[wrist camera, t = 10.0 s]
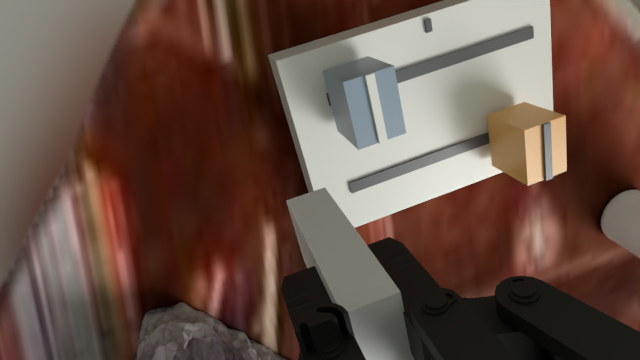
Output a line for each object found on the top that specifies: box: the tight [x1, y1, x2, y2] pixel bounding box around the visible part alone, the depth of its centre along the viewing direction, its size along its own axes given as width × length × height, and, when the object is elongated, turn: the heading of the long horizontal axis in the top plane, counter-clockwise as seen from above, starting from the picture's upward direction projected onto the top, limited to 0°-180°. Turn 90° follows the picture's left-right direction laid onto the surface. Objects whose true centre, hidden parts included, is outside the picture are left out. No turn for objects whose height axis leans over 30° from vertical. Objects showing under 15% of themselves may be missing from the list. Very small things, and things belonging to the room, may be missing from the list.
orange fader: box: [487, 102, 567, 186], centre depth 32 cm, size 3×4×4 cm
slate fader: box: [323, 56, 406, 150], centre depth 28 cm, size 3×4×4 cm
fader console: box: [268, 0, 553, 228], centre depth 33 cm, size 19×13×3 cm
